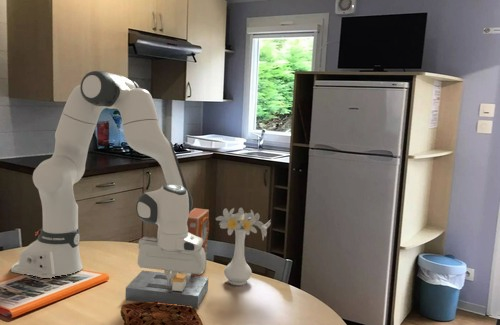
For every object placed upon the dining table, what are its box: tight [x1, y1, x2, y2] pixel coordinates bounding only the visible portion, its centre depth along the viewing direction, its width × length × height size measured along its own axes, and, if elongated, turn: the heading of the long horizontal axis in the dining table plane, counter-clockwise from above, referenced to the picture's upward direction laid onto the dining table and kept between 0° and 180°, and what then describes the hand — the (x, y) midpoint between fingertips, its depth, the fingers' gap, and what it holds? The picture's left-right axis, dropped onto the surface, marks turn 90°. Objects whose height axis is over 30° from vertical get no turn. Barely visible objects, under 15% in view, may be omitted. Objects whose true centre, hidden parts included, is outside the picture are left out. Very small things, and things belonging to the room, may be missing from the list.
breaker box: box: [125, 270, 209, 310], centre depth 144 cm, size 22×14×8 cm, turn 83°
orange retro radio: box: [187, 207, 210, 277], centre depth 163 cm, size 21×7×15 cm
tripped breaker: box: [172, 273, 187, 291], centre depth 140 cm, size 3×4×4 cm
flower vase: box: [215, 207, 272, 286], centre depth 156 cm, size 13×18×25 cm
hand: (170, 283), depth 141 cm, fingers closed
